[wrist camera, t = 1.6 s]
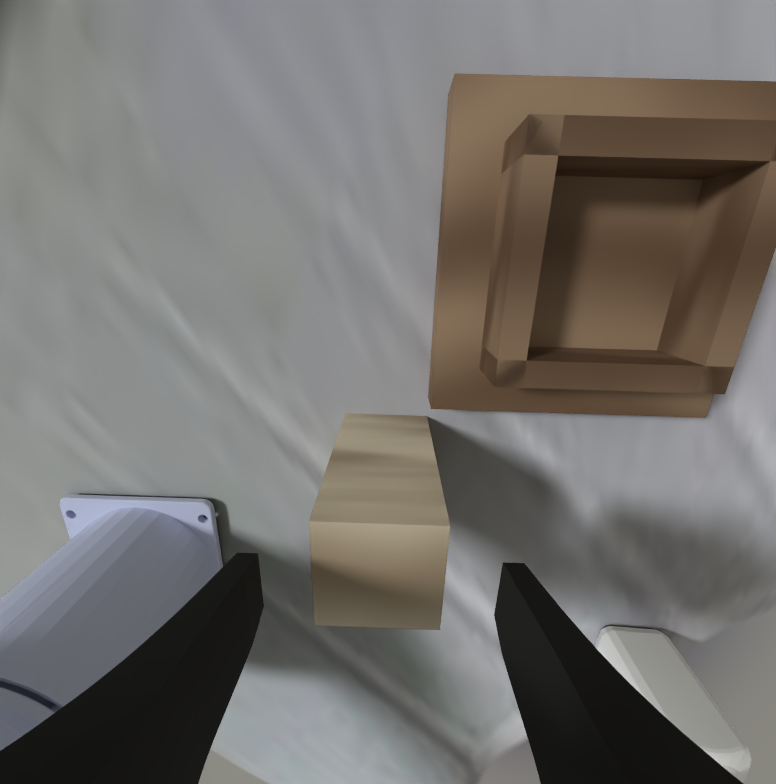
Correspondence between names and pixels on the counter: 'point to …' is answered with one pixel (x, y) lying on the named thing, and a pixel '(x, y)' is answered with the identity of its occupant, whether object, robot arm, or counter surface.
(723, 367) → the peg holder
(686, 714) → the salt shaker
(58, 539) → the counter surface
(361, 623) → the birch peg
